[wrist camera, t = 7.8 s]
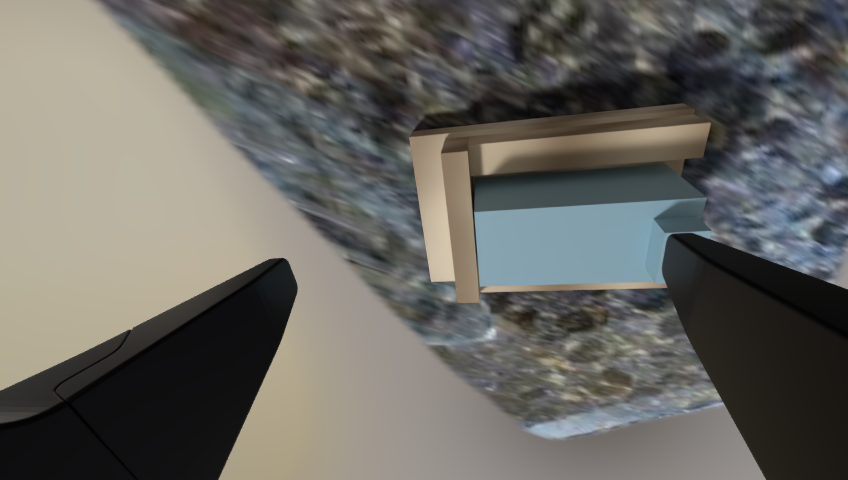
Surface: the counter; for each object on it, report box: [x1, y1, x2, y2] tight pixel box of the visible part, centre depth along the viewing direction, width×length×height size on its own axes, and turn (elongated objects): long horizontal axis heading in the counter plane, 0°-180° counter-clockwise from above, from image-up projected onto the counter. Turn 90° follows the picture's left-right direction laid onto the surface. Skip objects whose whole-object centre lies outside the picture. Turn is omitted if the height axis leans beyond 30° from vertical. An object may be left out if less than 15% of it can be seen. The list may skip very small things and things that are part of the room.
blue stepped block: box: [474, 164, 712, 287], centre depth 18 cm, size 9×4×5 cm, turn 98°
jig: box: [409, 103, 711, 303], centre depth 20 cm, size 13×9×4 cm
